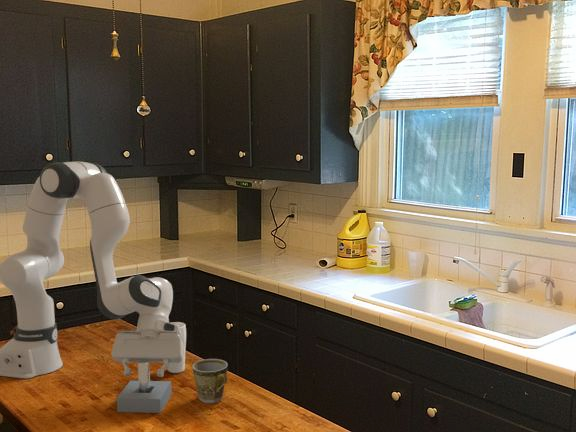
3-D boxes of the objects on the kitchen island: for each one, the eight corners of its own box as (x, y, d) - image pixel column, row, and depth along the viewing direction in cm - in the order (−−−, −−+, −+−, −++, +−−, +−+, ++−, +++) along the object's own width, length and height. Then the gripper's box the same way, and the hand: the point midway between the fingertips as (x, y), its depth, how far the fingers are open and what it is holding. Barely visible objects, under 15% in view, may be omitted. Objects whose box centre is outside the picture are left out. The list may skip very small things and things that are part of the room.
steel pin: (137, 405, 181) (136, 364, 179) (141, 400, 184) (139, 360, 182) (149, 405, 180) (147, 364, 179) (152, 400, 183) (150, 360, 182)
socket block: (117, 411, 177) (116, 397, 176) (131, 393, 188) (130, 380, 188) (160, 413, 176) (159, 399, 175) (171, 394, 187) (171, 381, 187)
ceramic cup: (186, 397, 185) (185, 364, 184) (215, 388, 192) (215, 356, 190) (211, 413, 175) (210, 378, 174) (241, 402, 182) (240, 368, 180)
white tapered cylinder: (177, 365, 210) (176, 320, 208) (191, 369, 206) (190, 324, 204) (161, 371, 205) (159, 325, 203) (175, 376, 201) (173, 330, 199)
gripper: (114, 324, 187) (103, 370, 178) (183, 326, 185) (176, 371, 177) (119, 334, 192) (110, 379, 183) (187, 336, 190) (181, 380, 182)
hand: (143, 375), depth 180 cm, fingers open, 8 cm apart
